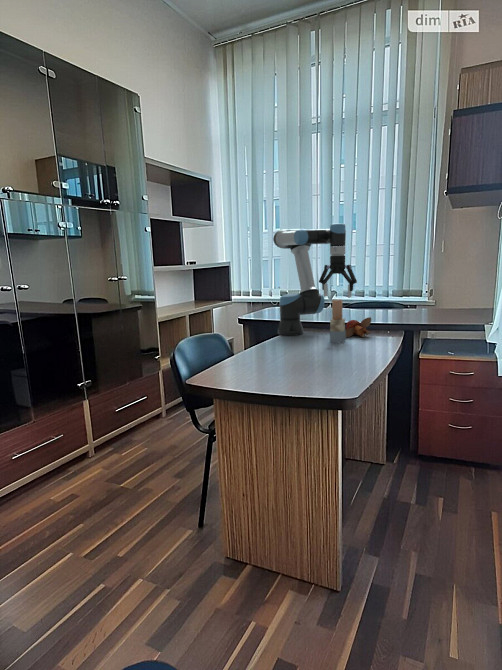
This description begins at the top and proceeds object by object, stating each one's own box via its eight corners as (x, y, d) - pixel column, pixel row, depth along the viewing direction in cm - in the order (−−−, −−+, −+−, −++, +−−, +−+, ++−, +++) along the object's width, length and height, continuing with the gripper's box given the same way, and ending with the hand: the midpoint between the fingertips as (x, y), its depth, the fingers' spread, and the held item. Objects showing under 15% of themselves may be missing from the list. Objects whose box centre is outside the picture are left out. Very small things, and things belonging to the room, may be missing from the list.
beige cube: (330, 331, 211) (330, 319, 210) (333, 329, 216) (333, 318, 215) (341, 331, 208) (341, 320, 207) (344, 329, 213) (344, 318, 212)
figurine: (381, 332, 223) (363, 322, 236) (379, 319, 219) (361, 310, 231) (352, 348, 219) (336, 338, 231) (350, 335, 214) (333, 325, 227)
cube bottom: (329, 342, 213) (329, 330, 212) (335, 339, 217) (335, 328, 216) (340, 343, 209) (340, 331, 208) (345, 340, 214) (345, 329, 213)
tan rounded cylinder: (330, 319, 211) (330, 300, 209) (335, 317, 215) (335, 299, 213) (339, 320, 207) (339, 300, 205) (344, 318, 211) (344, 299, 209)
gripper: (312, 255, 209) (312, 296, 214) (357, 254, 194) (357, 298, 199) (319, 255, 215) (319, 295, 220) (364, 254, 200) (363, 297, 204)
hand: (337, 296), depth 209 cm, fingers open, 13 cm apart
